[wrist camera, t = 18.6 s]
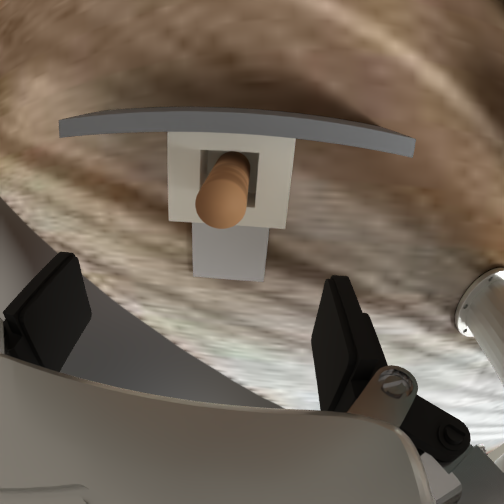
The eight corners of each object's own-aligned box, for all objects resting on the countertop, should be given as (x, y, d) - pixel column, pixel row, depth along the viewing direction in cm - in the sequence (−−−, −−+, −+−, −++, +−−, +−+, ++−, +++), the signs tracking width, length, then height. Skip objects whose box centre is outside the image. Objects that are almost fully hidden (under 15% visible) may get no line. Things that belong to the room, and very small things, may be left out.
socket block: (290, 128, 27) (296, 134, 23) (281, 208, 31) (285, 229, 26) (182, 122, 27) (167, 128, 22) (181, 201, 31) (168, 221, 26)
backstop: (379, 126, 27) (415, 139, 20) (346, 284, 36) (363, 329, 29) (102, 110, 27) (58, 120, 20) (115, 266, 36) (88, 306, 29)
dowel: (251, 152, 27) (248, 182, 18) (249, 185, 29) (244, 230, 20) (216, 150, 27) (195, 179, 18) (215, 183, 29) (195, 227, 20)
